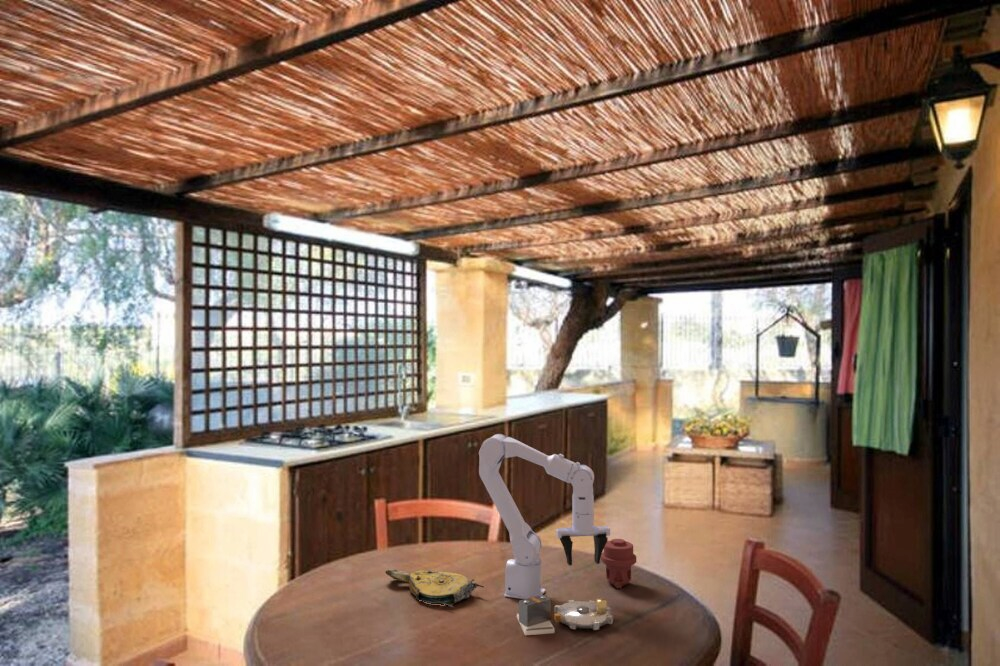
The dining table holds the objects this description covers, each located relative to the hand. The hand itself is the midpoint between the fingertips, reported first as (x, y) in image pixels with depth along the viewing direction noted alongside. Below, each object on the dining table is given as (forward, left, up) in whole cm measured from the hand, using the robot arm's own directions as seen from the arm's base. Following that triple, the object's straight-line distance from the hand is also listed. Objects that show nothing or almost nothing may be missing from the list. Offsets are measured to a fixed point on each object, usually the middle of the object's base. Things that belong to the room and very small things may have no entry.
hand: (583, 563), depth 168 cm
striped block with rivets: (-7, -20, -8) cm, 23 cm away
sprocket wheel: (+3, -14, -9) cm, 17 cm away
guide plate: (-7, -20, -9) cm, 23 cm away
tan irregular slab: (-41, -9, -10) cm, 44 cm away
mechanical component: (+7, +14, -10) cm, 18 cm away
